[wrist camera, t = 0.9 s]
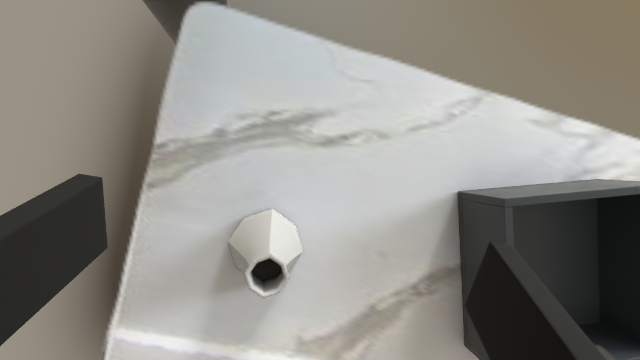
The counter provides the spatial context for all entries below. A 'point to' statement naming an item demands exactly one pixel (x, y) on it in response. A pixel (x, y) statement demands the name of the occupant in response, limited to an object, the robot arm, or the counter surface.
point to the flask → (265, 251)
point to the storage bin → (564, 252)
